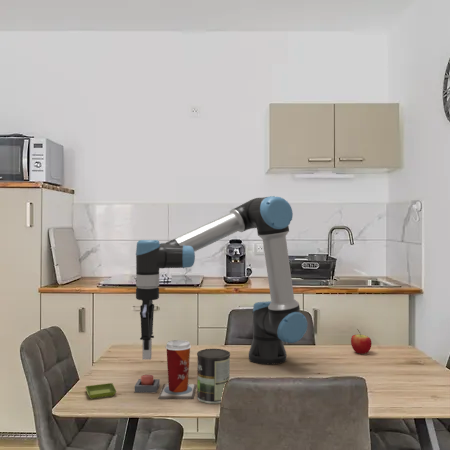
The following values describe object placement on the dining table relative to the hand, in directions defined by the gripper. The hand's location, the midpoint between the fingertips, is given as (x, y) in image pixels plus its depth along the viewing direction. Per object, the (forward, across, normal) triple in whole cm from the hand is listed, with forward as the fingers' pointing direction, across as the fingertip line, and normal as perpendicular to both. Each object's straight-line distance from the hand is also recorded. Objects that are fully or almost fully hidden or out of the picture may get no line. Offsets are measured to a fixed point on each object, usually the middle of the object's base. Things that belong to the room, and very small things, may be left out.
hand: (146, 358), depth 158 cm
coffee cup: (+9, +3, +11) cm, 14 cm away
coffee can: (+10, +8, +22) cm, 25 cm away
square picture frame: (+10, +3, +11) cm, 15 cm away
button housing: (+10, 0, 0) cm, 10 cm away
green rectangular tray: (+11, +5, -14) cm, 18 cm away
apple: (+10, -45, +82) cm, 94 cm away
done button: (+9, 0, 0) cm, 9 cm away
